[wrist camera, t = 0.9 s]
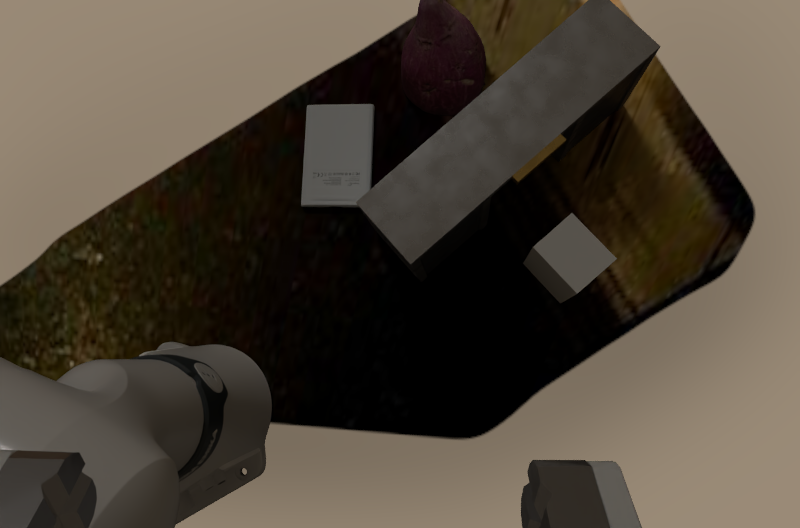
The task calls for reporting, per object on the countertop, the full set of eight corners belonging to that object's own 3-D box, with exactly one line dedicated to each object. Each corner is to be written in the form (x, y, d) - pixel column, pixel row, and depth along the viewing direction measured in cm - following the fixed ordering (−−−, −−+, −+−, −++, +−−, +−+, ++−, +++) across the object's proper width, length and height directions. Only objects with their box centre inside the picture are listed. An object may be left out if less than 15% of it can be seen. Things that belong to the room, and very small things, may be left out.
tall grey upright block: (560, 303, 65) (577, 293, 55) (522, 263, 66) (532, 246, 56) (594, 273, 65) (616, 258, 55) (556, 234, 66) (572, 212, 56)
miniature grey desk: (425, 287, 67) (416, 270, 54) (376, 231, 69) (355, 202, 56) (628, 110, 68) (666, 52, 55) (574, 58, 69) (599, -10, 56)
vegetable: (400, 67, 75) (358, -26, 62) (478, 37, 73) (452, -66, 60) (416, 133, 71) (375, 48, 57) (500, 103, 69) (478, 8, 55)
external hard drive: (375, 109, 72) (371, 208, 70) (309, 110, 73) (303, 208, 71) (373, 103, 70) (368, 205, 68) (306, 104, 71) (299, 204, 69)
